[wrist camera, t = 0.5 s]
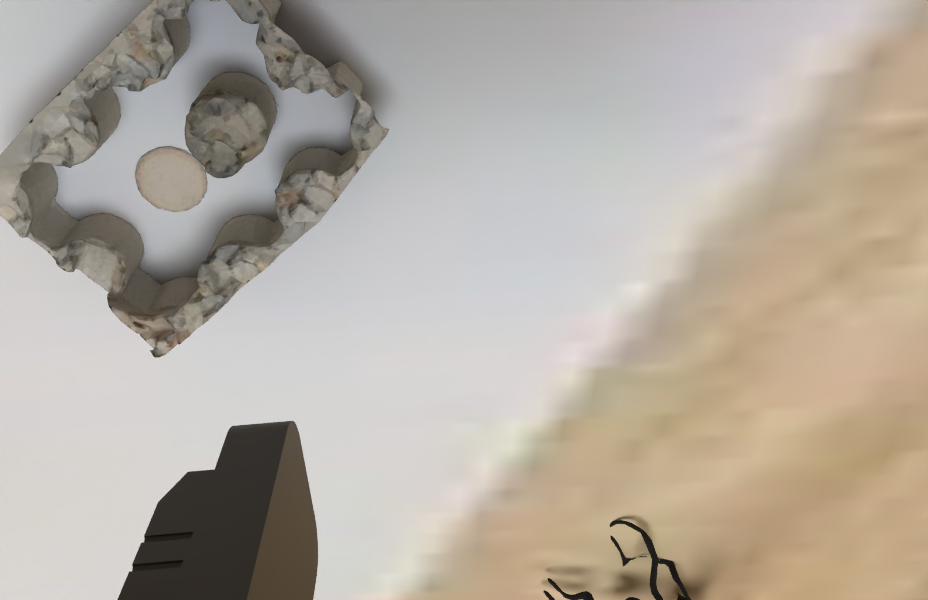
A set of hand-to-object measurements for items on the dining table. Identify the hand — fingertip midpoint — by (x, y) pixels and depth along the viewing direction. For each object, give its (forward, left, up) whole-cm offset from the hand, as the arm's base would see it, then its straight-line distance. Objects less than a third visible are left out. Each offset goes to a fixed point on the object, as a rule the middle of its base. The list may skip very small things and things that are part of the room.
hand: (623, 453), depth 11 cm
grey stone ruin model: (+1, -9, -18) cm, 20 cm away
